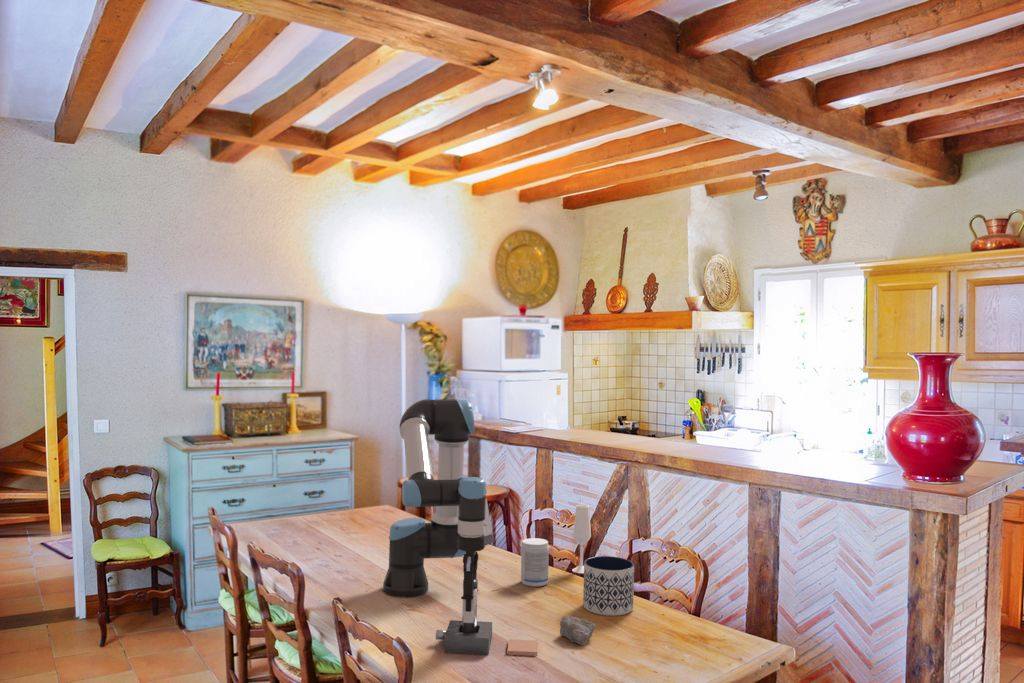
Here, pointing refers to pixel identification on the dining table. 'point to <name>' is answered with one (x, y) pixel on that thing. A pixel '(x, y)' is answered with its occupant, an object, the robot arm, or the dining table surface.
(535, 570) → the supplement tub
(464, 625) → the grey tall cylinder
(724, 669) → the dining table surface
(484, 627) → the block
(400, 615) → the dining table surface
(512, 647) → the coaster
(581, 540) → the champagne flute
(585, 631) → the stone
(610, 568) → the planter
